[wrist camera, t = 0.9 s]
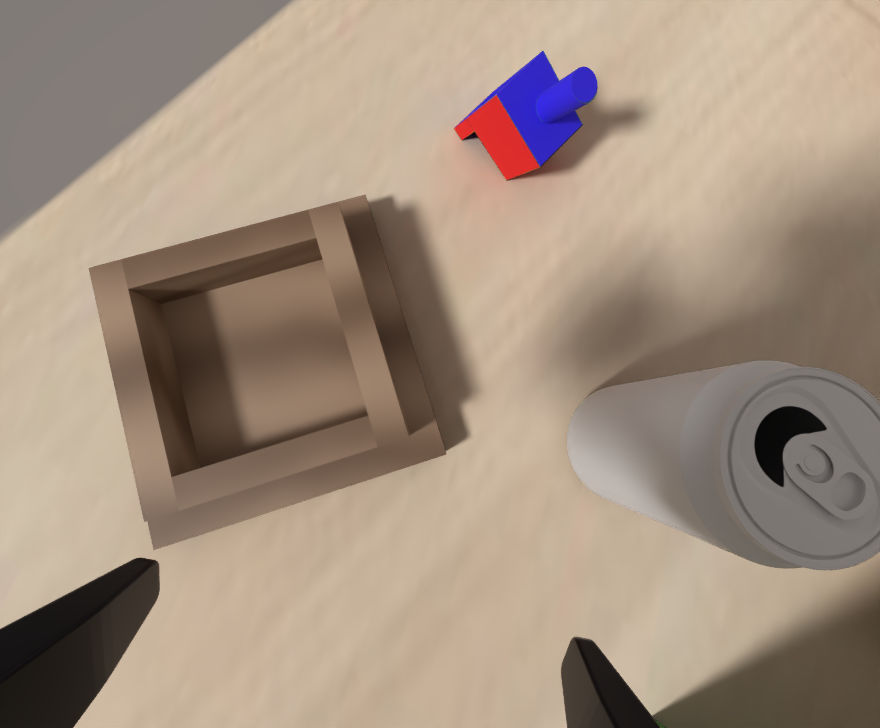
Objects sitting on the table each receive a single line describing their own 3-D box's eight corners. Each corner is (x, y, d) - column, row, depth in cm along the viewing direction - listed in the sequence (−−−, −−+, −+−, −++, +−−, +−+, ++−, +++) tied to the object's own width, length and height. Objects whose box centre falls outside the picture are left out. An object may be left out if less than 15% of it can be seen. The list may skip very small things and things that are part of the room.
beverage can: (609, 364, 24) (794, 308, 12) (694, 439, 24) (970, 459, 12) (538, 445, 23) (662, 471, 11) (625, 525, 23) (847, 639, 11)
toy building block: (492, 186, 27) (575, 153, 20) (453, 127, 25) (528, 68, 18) (528, 150, 27) (622, 105, 20) (492, 91, 26) (580, 18, 18)
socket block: (444, 452, 23) (449, 458, 19) (172, 541, 22) (116, 568, 18) (368, 208, 25) (359, 167, 21) (112, 277, 23) (49, 247, 19)
